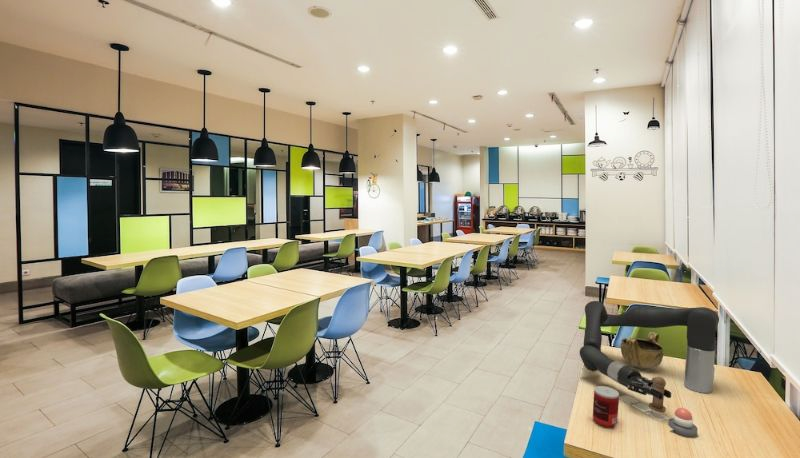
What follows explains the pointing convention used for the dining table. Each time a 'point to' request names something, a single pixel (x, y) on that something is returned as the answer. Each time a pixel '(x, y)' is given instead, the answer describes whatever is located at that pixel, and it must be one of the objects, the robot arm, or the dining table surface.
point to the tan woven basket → (642, 351)
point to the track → (644, 408)
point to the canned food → (605, 406)
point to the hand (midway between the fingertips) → (666, 396)
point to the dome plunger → (683, 418)
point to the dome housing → (683, 429)
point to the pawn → (656, 403)
